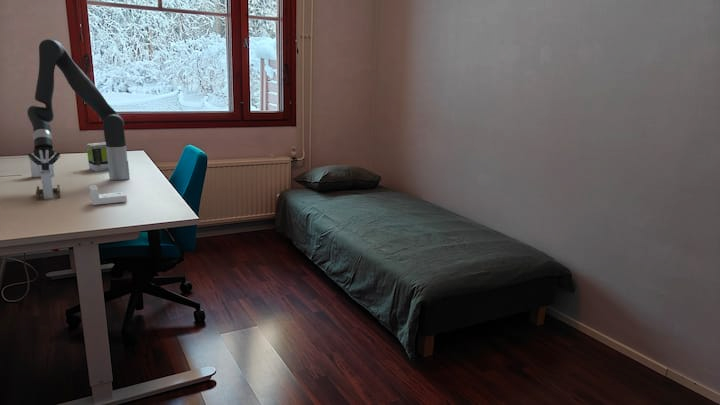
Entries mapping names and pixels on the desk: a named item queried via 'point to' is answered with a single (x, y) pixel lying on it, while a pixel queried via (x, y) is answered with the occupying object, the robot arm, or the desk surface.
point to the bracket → (106, 197)
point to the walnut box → (41, 196)
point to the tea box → (97, 156)
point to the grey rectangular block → (47, 184)
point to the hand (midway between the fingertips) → (45, 171)
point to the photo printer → (40, 168)
